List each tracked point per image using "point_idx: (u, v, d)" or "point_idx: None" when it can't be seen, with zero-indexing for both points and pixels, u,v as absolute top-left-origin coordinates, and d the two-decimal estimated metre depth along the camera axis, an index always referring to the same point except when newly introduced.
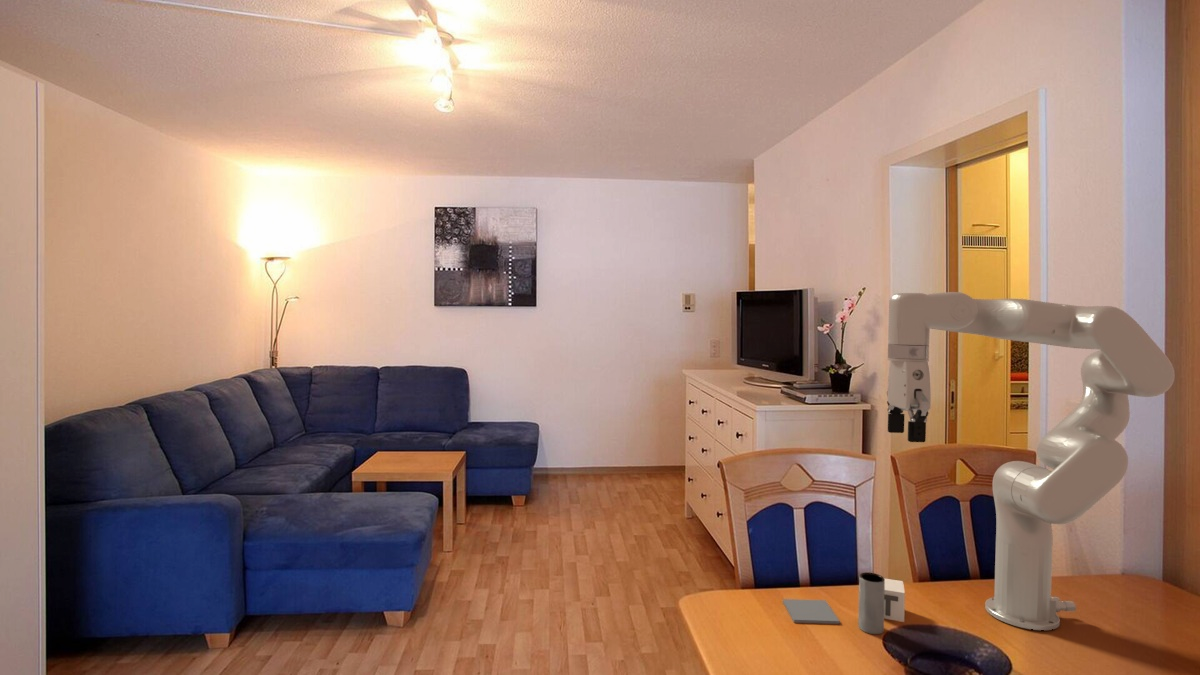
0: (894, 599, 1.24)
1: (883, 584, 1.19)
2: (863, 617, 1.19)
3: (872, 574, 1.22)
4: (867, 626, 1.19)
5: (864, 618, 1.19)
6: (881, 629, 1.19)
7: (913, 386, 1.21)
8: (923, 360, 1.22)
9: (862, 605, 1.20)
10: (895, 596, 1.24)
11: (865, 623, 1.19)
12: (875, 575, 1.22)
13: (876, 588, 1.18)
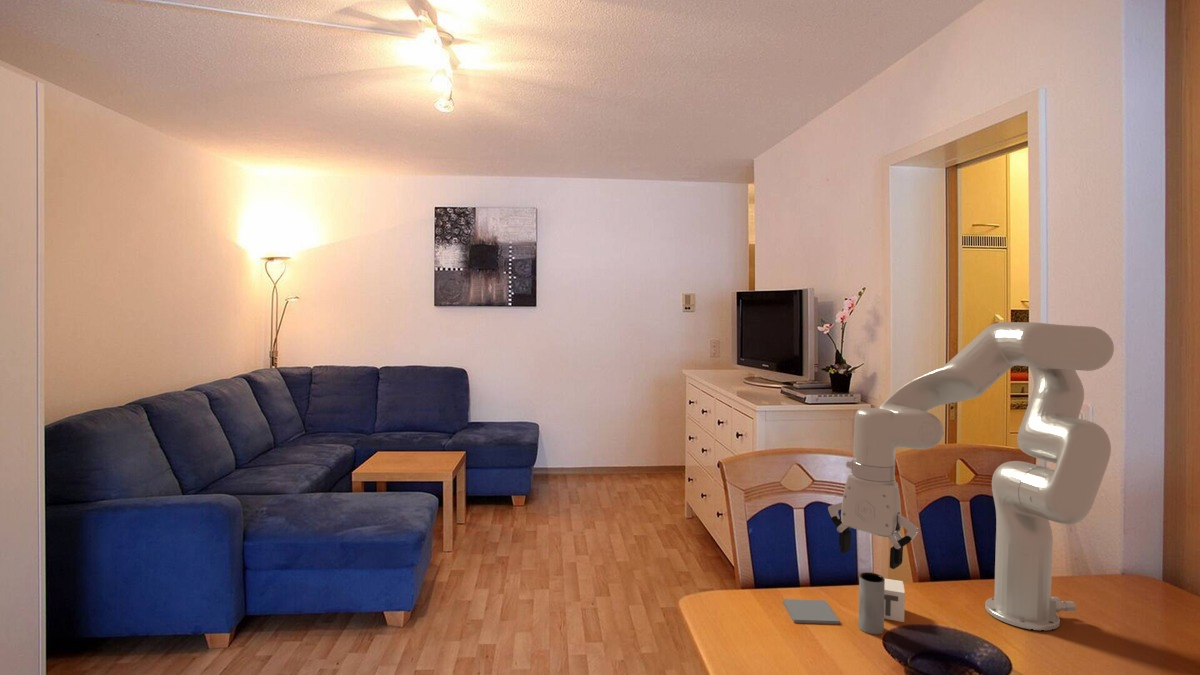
0: (894, 599, 1.24)
1: (883, 584, 1.19)
2: (863, 617, 1.19)
3: (872, 574, 1.22)
4: (867, 626, 1.19)
5: (864, 618, 1.19)
6: (881, 629, 1.19)
7: None
8: (852, 475, 1.21)
9: (862, 605, 1.20)
10: (895, 596, 1.24)
11: (865, 623, 1.19)
12: (875, 575, 1.22)
13: (876, 588, 1.18)
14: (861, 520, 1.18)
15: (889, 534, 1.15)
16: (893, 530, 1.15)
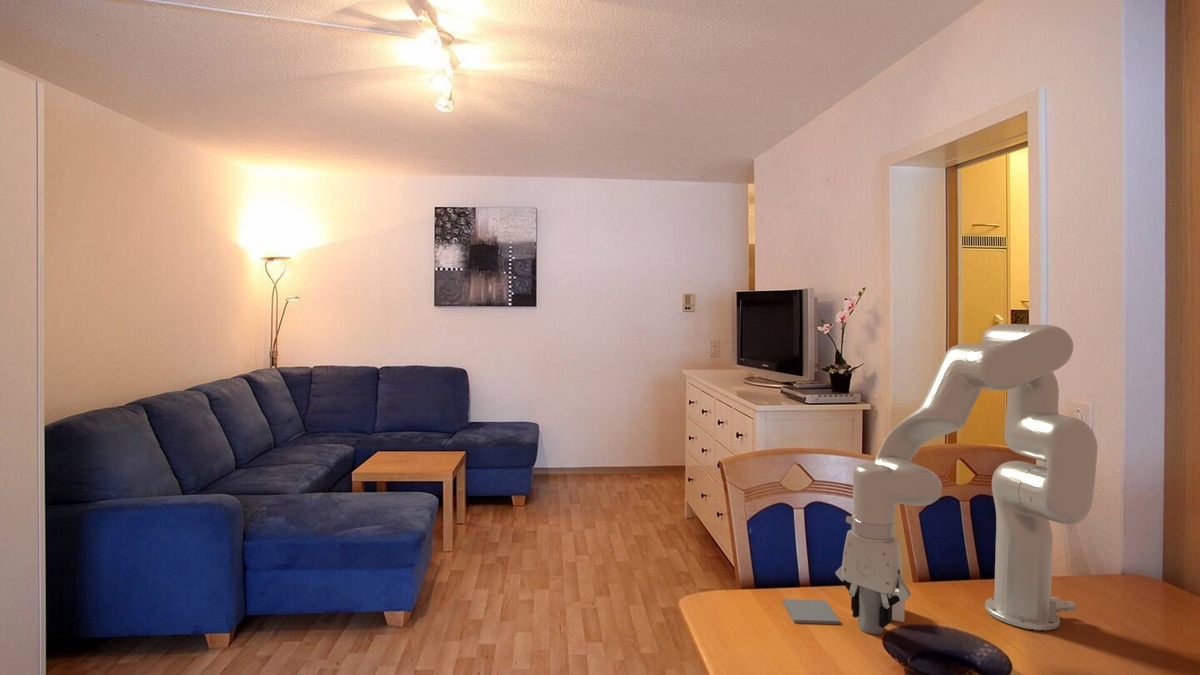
0: None
1: None
2: (863, 617, 1.19)
3: None
4: (867, 626, 1.19)
5: (864, 618, 1.19)
6: (881, 629, 1.19)
7: None
8: (852, 531, 1.21)
9: (862, 605, 1.20)
10: None
11: (865, 622, 1.19)
12: None
13: None
14: (862, 576, 1.19)
15: (890, 592, 1.15)
16: (894, 588, 1.15)
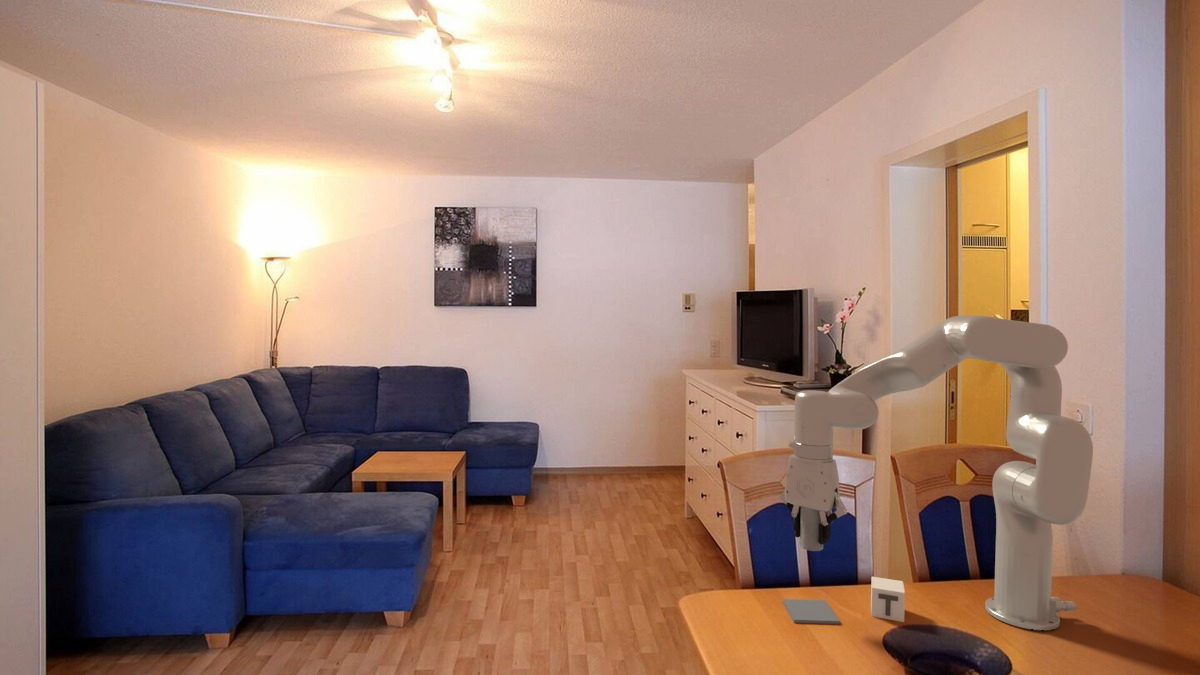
0: (894, 599, 1.24)
1: None
2: (803, 535, 1.25)
3: None
4: (807, 543, 1.25)
5: (804, 536, 1.25)
6: (820, 546, 1.25)
7: None
8: (794, 455, 1.27)
9: (803, 524, 1.26)
10: (895, 596, 1.24)
11: (805, 540, 1.25)
12: None
13: None
14: (802, 496, 1.25)
15: (827, 509, 1.21)
16: (831, 505, 1.21)
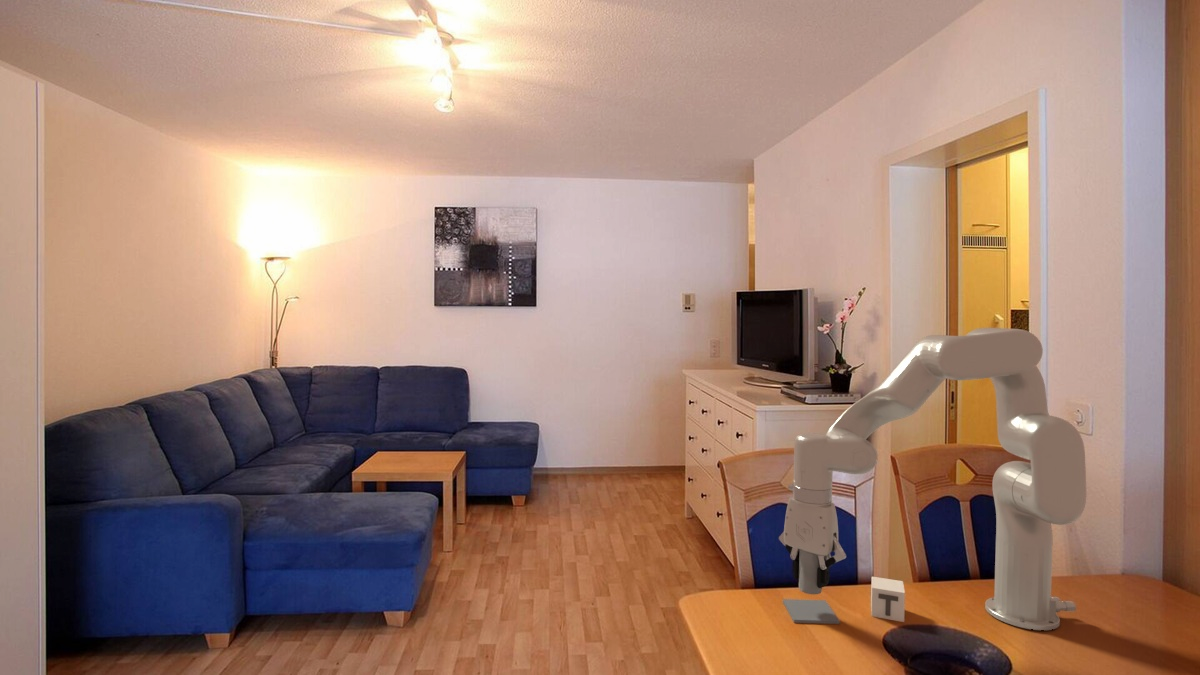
0: (894, 599, 1.24)
1: None
2: (802, 578, 1.26)
3: None
4: (806, 587, 1.25)
5: (803, 579, 1.25)
6: (818, 590, 1.25)
7: None
8: (793, 497, 1.28)
9: (801, 567, 1.26)
10: (895, 596, 1.24)
11: (803, 583, 1.25)
12: None
13: None
14: (801, 540, 1.25)
15: (826, 554, 1.21)
16: (830, 550, 1.22)
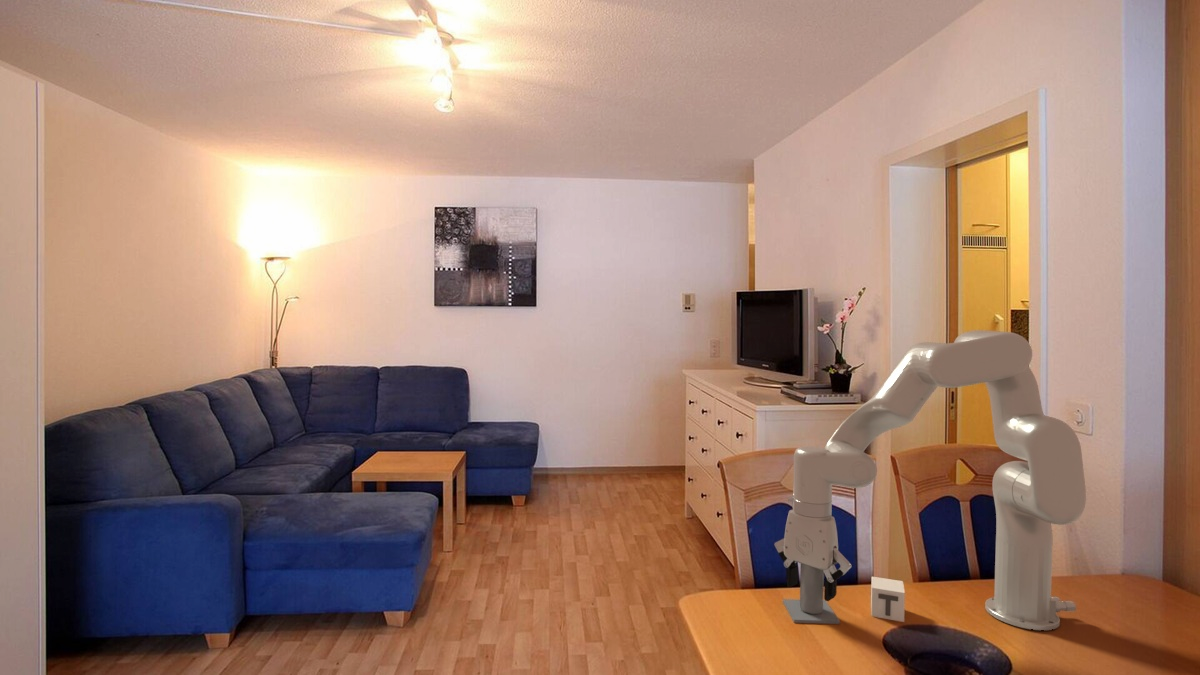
0: (894, 599, 1.24)
1: None
2: (803, 598, 1.26)
3: None
4: (807, 606, 1.25)
5: (804, 598, 1.26)
6: (820, 609, 1.25)
7: None
8: (792, 510, 1.28)
9: (803, 586, 1.26)
10: (895, 596, 1.24)
11: (805, 603, 1.26)
12: None
13: (815, 570, 1.25)
14: (801, 553, 1.25)
15: (826, 567, 1.22)
16: (829, 563, 1.22)
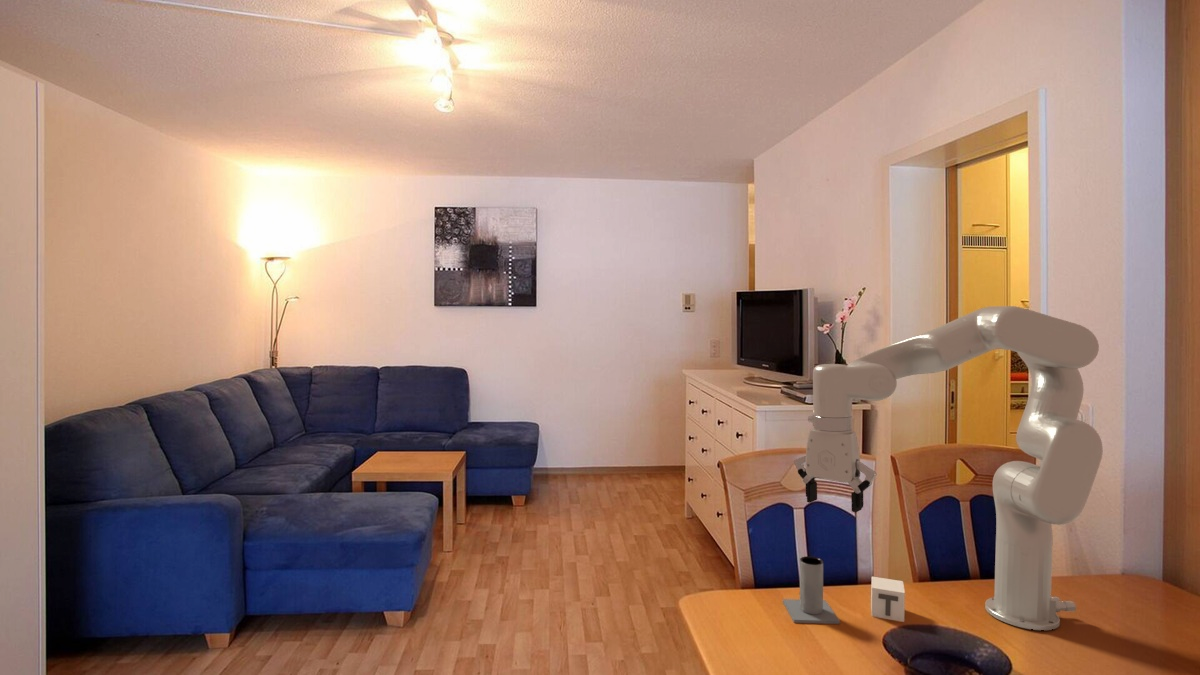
0: (894, 599, 1.24)
1: (821, 567, 1.25)
2: (803, 598, 1.26)
3: (812, 558, 1.28)
4: (807, 607, 1.25)
5: (804, 599, 1.26)
6: (820, 610, 1.25)
7: None
8: (813, 428, 1.29)
9: (802, 587, 1.26)
10: (895, 596, 1.24)
11: (804, 603, 1.26)
12: (815, 559, 1.28)
13: (814, 571, 1.24)
14: (824, 469, 1.26)
15: (849, 480, 1.22)
16: (853, 476, 1.22)
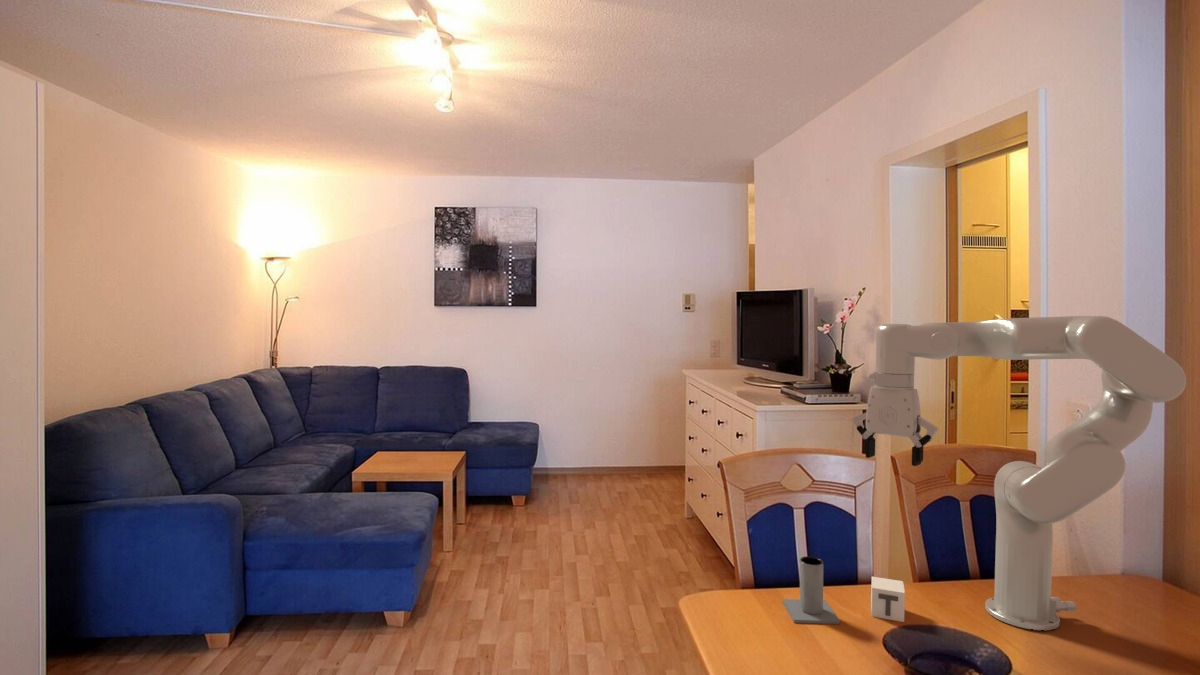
0: (894, 599, 1.24)
1: (821, 567, 1.25)
2: (803, 598, 1.26)
3: (813, 558, 1.28)
4: (806, 607, 1.25)
5: (804, 599, 1.26)
6: (819, 610, 1.25)
7: None
8: (875, 385, 1.33)
9: (802, 587, 1.26)
10: (895, 596, 1.24)
11: (804, 604, 1.26)
12: (815, 559, 1.28)
13: (814, 571, 1.24)
14: (885, 424, 1.30)
15: (911, 434, 1.27)
16: (914, 430, 1.27)
